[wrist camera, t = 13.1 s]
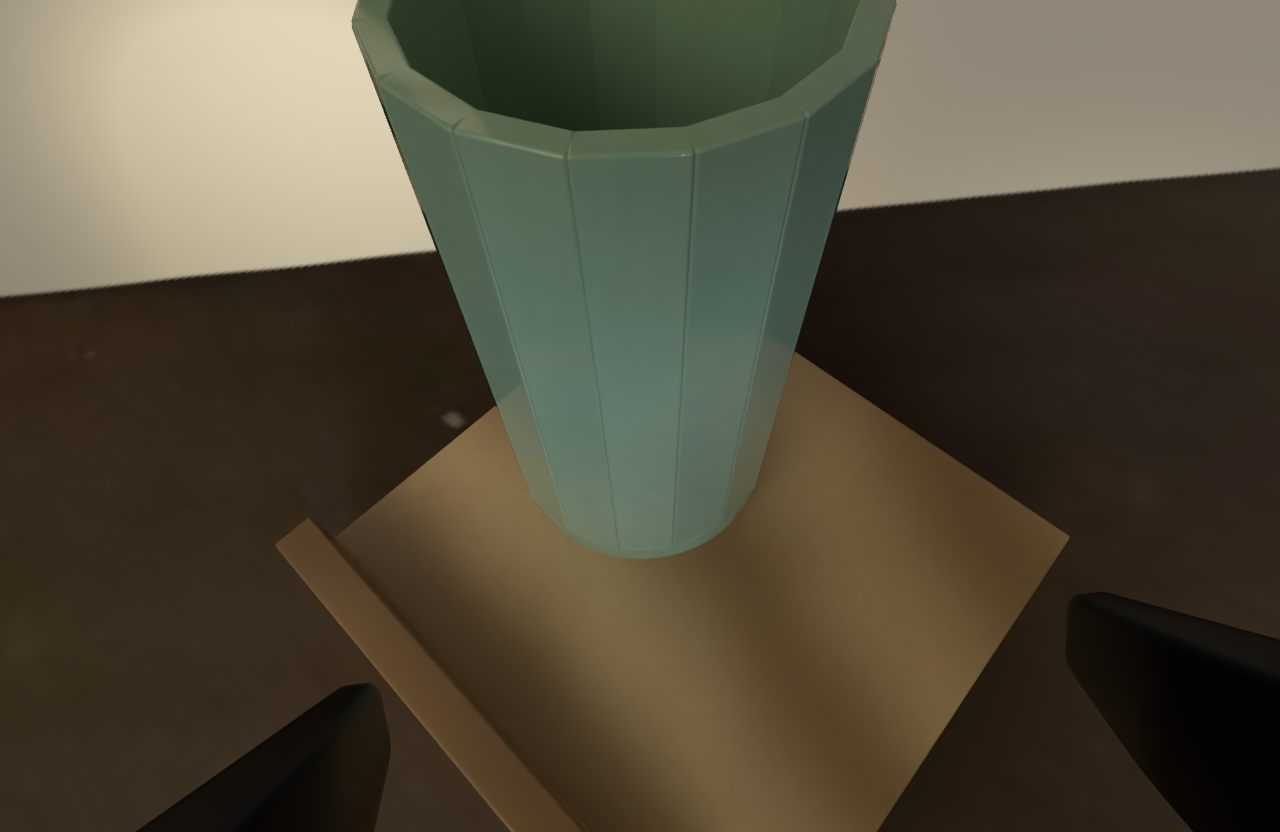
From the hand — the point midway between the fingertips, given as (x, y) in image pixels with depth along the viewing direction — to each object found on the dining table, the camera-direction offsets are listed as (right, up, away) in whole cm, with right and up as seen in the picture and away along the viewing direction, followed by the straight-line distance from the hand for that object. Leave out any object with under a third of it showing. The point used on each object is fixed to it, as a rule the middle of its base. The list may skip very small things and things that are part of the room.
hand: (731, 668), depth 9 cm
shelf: (0, -2, +12) cm, 12 cm away
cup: (-1, +2, +10) cm, 11 cm away
